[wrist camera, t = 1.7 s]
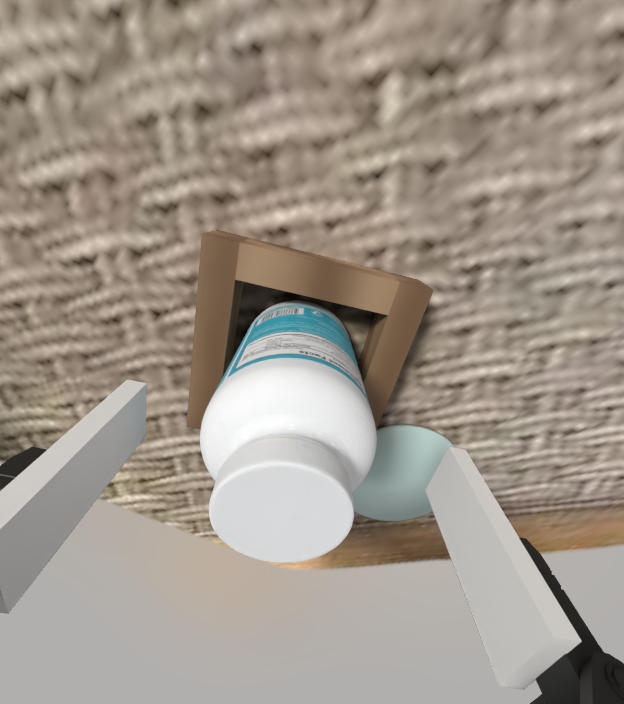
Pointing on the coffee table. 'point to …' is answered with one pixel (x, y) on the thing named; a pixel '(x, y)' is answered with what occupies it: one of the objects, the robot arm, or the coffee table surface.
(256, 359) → the pill bottle
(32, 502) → the robot arm
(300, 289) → the walnut frame
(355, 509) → the coaster
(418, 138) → the coffee table surface
